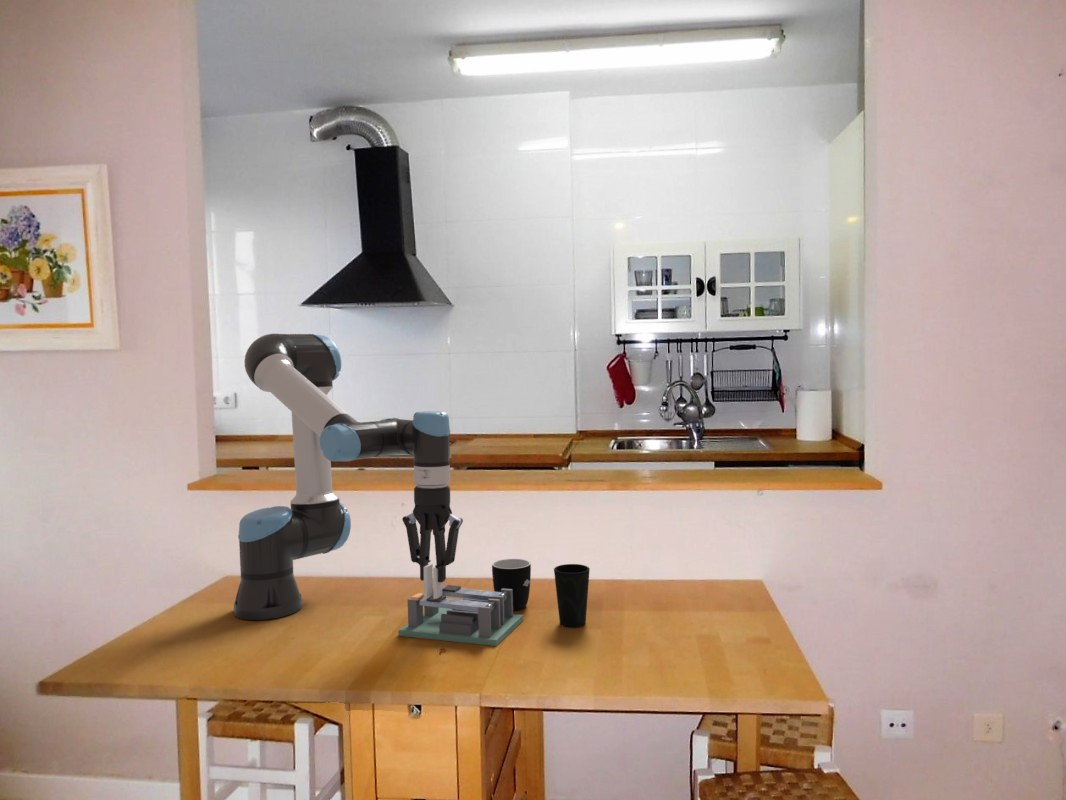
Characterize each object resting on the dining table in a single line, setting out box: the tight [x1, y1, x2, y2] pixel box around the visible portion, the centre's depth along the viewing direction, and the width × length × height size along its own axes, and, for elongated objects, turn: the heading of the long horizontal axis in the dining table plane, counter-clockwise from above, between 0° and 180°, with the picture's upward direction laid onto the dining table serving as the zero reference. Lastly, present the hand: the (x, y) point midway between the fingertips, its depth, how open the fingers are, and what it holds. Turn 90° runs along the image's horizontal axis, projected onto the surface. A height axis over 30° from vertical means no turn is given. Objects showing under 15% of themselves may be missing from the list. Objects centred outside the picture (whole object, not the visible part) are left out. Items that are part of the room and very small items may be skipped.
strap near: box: [420, 595, 496, 612], centre depth 159 cm, size 16×4×2 cm, turn 71°
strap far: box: [442, 584, 509, 601], centre depth 166 cm, size 16×4×2 cm, turn 71°
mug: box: [491, 558, 532, 612], centre depth 179 cm, size 12×9×10 cm
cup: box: [553, 563, 591, 629], centre depth 165 cm, size 8×8×12 cm
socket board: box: [397, 589, 524, 647], centre depth 163 cm, size 22×16×8 cm
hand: (433, 596), depth 161 cm, fingers closed on strap near, 1 cm apart
